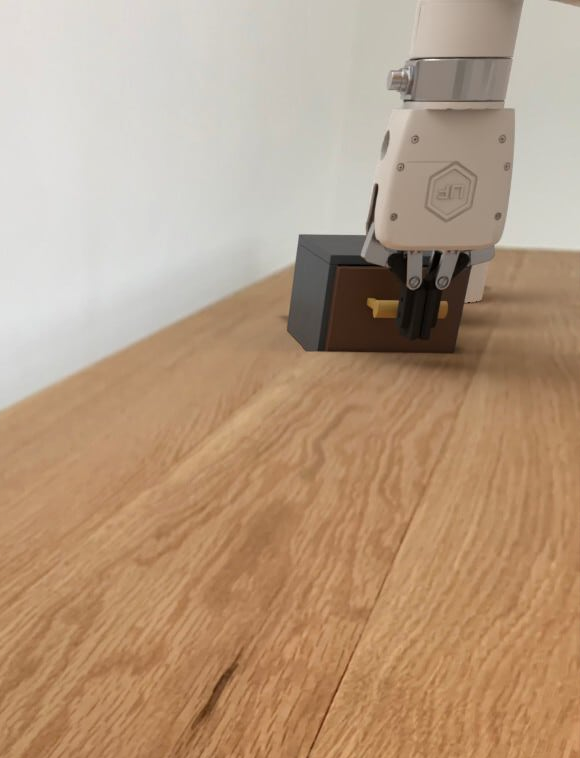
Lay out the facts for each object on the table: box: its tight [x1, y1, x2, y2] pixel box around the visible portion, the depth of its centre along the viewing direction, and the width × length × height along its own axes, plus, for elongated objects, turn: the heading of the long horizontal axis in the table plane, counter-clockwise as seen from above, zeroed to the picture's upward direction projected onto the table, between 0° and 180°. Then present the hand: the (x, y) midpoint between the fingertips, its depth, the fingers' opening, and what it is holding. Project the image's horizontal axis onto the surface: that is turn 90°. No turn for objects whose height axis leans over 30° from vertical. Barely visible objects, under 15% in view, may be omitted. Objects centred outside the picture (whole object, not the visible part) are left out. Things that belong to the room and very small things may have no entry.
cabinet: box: [286, 233, 471, 354], centre depth 106 cm, size 14×13×9 cm
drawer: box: [323, 265, 469, 354], centre depth 102 cm, size 17×11×7 cm, turn 179°
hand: (413, 336), depth 94 cm, fingers closed
